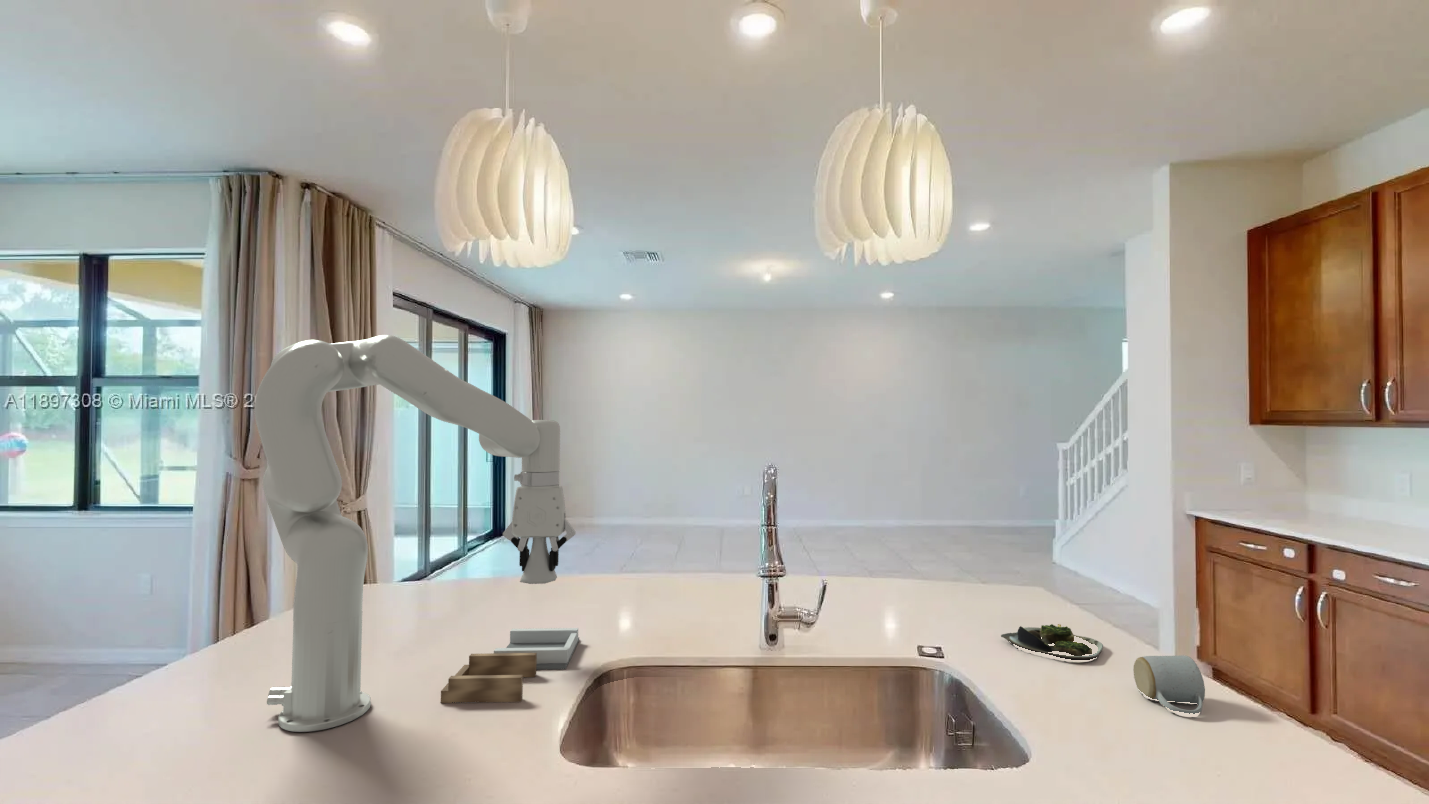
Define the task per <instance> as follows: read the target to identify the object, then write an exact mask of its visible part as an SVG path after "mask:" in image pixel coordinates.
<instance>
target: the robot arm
mask: <svg viewBox="0 0 1429 804" xmlns="http://www.w3.org/2000/svg"><path fill="white" fill-rule="evenodd" d="M378 385H380V386H382V387H383V388H385V389H387V390H388V391H390V392H391V393H393V394H395V395H396V396H398V397H400V398H401V399H403V400H404V401H406V402H408V403H409V404H411V405H413V406H414V407H415V408H417V409H419V410H420V411H422V412H423V413H424V414H426V415H429V416H430V417H431V418H435V419H437V420H439V421H441V422H444V423H445V422H446V423H448V424H452V425H457V426H459V427H463V428H466V429H467V430H471V431H472V432H475V433H476V434H478V441H479V444H480V447H481V448H482V449H483V450H484V452H486V453H488V454H489V455H492V456H496V457H502V458H503V457H505V458H508V457H509V458H515V459H516V458H518V459H519V458H520V459H521V471H520V473H517V474H514V476H513V479H514V482H519V483H520V485H521V486H518V487H516V490H515V494H514V502H513V510H512V520H511V522H510V524H508V526H507V528H506V529H505V530H504V531H503V532H502V536H503V537H504V538H505V539H507V540H508V541H509V542H510V543H512V544H513V546H514V547H515V548H516V549H517V551H518V552H519V567H521V572H524V569H525V567H526V564H527V561H528V558H529V555H530V548H529V547H528V545H529V541H530V538H533V537H546V538H548V539H549V543H550V546H551V548H550V551H548V552H549V570H550V571H553V570H556V568H557V567H558V566H559V551H560V550H559V549H560V548H561V547H563V545H564V544H565V543H566V542H568V541H569V540H570V539H572V538H573V537H574V536H576V535H577V532H576V530H575V528H573V526H572V525H571V524H570V522H569V521H568V520H567V518H566V517H567V516H566V503H565V501H566V499H565V492H564V488H563V486H562V485H560V471H561V470H560V463H561V462H560V461H561V459H560V458H561V426H560V423H559V422H557V421H556V420H549V419H530V418H529V417H528V416H526V415H525V414H523V412H520V411H519V410H518V409H517V408H515V407H514V406H512V405H510V404H509V403H507V402H506V401H504V400H502V399H501V398H498V397H497V396H496V395H493V394H491V393H489V392H487V391H484V390H482V389H481V388H479V387H477V386H476V385H473V384H471V383H469V382H467V381H465V380H463V379H461V378H460V377H459V376H456V375H455V374H454V373H452V372H451V371H449V370H448V369H446V368H445V367H443V366H442V365H440V364H439V363H438V362H436V361H435V360H433V359H432V358H431V357H429V356H427V355H426V354H424V353H423V352H422V351H420V350H419V349H417V348H416V347H415V346H413V345H411V344H410V343H409V342H407V341H406V340H403V338H400V337H399V336H398V337H397V336H396V335H391V334H380V335H376V336H373V337H370V338H366V339H360V340H352V341H344V342H335V343H329V342H326V341H324V340H321V339H319V340H318V339H307V340H302V341H301V340H300V341H299V342H296V343H293V344H291V345H289V346H287V347H285V348H283V349H282V350H280V351H279V352H278V353H277V354H275V356H274V357H273V359H272V361H271V364H270V367H269V368H268V369H267V370H266V372H265V374H264V376H263V378H262V380H261V382H260V384H259V386H258V388H257V391H256V395H255V400H254V401H255V402H254V418H255V424H256V427H257V432H258V436H259V438H260V442H261V445H262V448H263V453H264V456H265V458H266V461H267V465H268V466H267V467H266V469H265V471H264V474H263V478H262V486H263V487H262V488H263V492H264V495H265V499H266V501H267V505H268V508H269V510H270V513H271V517H272V520H273V522H274V524H275V527H276V530H277V532H278V536H279V538H280V541H281V543H282V546H283V548H284V549H283V550H285V552H286V554H287V555H288V557H289V558H290V559H291V560H292V561H293V562H295V563H296V566H297V567H296V568H297V569H296V580H295V581H296V582H295V586H294V594H293V595H294V596H293V605H292V606H293V607H292V608H293V609H292V610H293V611H292V622H293V623H292V651H291V653H292V654H291V655H292V658H291V659H292V661H291V686H289V687H287V686H273V687H271V688H270V689H269V692H268V697H267V699H266V705H268V706H277V705H281V706H282V710H281V711H280V713H279V714H278V719H277V720H278V721H277V723H278V726H279V727H280V728H281V729H282V730H285V731H289V732H295V733H307V732H317V731H322V730H324V731H325V730H329V729H332V728H335V727H338V726H342V725H345V724H347V723H350V722H353V721H354V720H356V719H358V718H359V717H361V716H363V715H364V714H366V712H367V711H369V709H370V707H371V706H372V705H371V704H372V698H371V696H370V695H369V694H368V693H366V692H364V691H361V685H362V683H361V681H362V676H361V675H362V645H363V644H362V642H363V641H362V640H363V601H364V599H363V597H364V596H363V595H364V594H363V593H364V585H365V583H364V582H365V575H366V570H367V563H368V556H369V545H368V539H367V535H366V534H365V531H363V529H362V527H361V526H360V525H359V524H358V523H357V522H355V521H354V520H353V519H351V518H349V517H347V516H346V517H345V516H343V515H342V513H341V509H340V506H339V503H338V500H337V499H338V498H339V496H340V494H341V491H342V488H343V479H342V476H341V475H342V474H341V472H340V469H339V467H338V464H337V462H336V459H335V457H334V453H333V450H332V447H331V444H330V442H329V439H328V436H327V433H326V429H325V425H324V421H323V415H322V405H323V402H324V399H325V397H326V395H327V393H329V392H336V391H345V390H352V389H353V390H354V389H360V388H365V387H366V388H367V387H372V386H378ZM564 532H566V533H565V535H563V536H562V537H559V536H561V535H562V534H563V533H564Z"/></svg>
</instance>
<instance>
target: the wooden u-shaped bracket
mask: <svg viewBox="0 0 1429 804" xmlns="http://www.w3.org/2000/svg"><path fill="white" fill-rule="evenodd" d="M536 664H537V653H494V652H492V653H490V652H489V653H470V655H468V664H463V666H462V667H461V668H460V669H459V670H458V671H457V672H456V673H455V675H450V676H449V678H448V679H447V680H448V682H447V684H446V685H445V686H444V687H443V688H442V689H441V690H440V704H457V703H456V702H460V703H461V702H462V703H461V704H463V702H464V703H465V702H466V703H465V704H467V702H476V703H519V702H520V703H521V702H522V700H523V697H524V695H523V689H524V688H523V687H524V686H523V685H524V684H523V683H524V682H523V681H524V680H523V678H535V677H536V676H537V670H536ZM452 702H453V703H452ZM454 702H455V703H454ZM460 703H459V704H460Z"/></svg>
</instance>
